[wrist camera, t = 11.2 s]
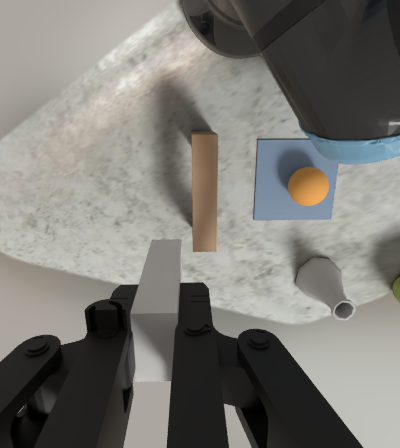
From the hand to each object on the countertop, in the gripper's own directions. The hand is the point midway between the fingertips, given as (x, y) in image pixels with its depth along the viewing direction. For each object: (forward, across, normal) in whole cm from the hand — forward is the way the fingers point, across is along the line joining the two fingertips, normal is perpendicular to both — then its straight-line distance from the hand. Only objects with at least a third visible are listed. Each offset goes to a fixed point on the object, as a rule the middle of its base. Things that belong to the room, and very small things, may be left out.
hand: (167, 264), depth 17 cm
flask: (+33, +22, -18) cm, 43 cm away
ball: (+30, +18, -2) cm, 35 cm away
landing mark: (+32, +17, -2) cm, 37 cm away
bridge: (+32, +3, -2) cm, 33 cm away
